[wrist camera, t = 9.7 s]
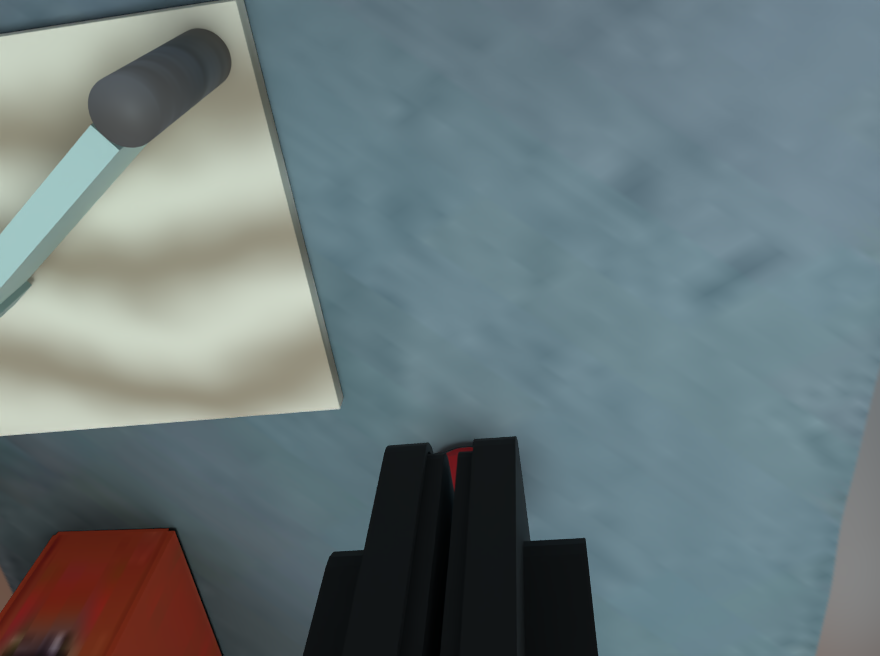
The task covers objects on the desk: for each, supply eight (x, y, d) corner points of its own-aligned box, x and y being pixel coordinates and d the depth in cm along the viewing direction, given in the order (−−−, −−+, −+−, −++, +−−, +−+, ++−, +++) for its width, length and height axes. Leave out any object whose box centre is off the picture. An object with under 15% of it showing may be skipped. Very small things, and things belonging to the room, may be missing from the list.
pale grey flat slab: (159, 70, 34) (83, 118, 28) (193, 102, 34) (126, 156, 28) (-17, 279, 40) (-112, 356, 34) (15, 304, 40) (-73, 384, 34)
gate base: (-189, 63, 36) (-379, 121, 29) (242, -4, 34) (162, 41, 26) (-3, 425, 46) (-107, 542, 38) (343, 397, 43) (306, 517, 36)
